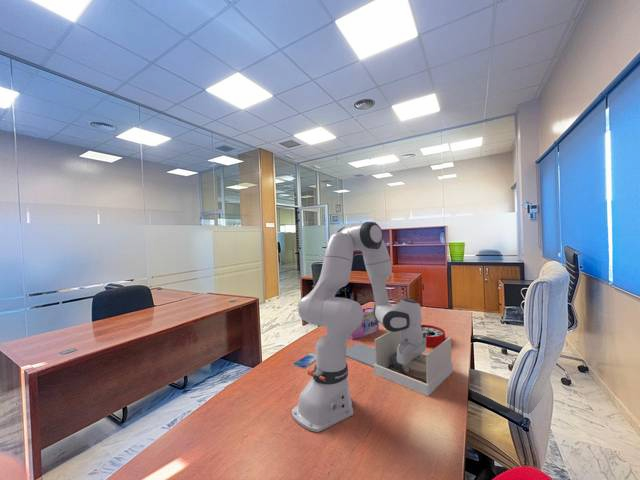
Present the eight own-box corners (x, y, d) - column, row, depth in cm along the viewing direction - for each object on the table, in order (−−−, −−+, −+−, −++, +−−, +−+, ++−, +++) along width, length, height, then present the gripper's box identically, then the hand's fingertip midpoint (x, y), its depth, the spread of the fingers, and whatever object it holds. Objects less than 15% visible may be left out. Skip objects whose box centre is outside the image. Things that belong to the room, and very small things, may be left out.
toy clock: (412, 337, 142) (403, 324, 162) (412, 347, 142) (403, 334, 162) (451, 336, 140) (437, 324, 160) (451, 347, 140) (437, 334, 160)
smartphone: (322, 355, 135) (303, 368, 122) (322, 357, 135) (303, 370, 122) (311, 352, 139) (292, 363, 127) (311, 353, 139) (292, 365, 127)
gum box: (350, 340, 154) (350, 317, 154) (342, 336, 161) (341, 314, 160) (379, 331, 168) (378, 309, 168) (370, 327, 174) (369, 307, 174)
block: (430, 383, 107) (430, 368, 107) (391, 368, 120) (391, 355, 120) (437, 377, 112) (436, 363, 112) (398, 363, 125) (398, 350, 125)
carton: (427, 396, 99) (426, 356, 99) (374, 373, 116) (373, 339, 116) (453, 371, 116) (452, 337, 116) (402, 354, 133) (402, 325, 133)
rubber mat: (377, 369, 120) (377, 367, 120) (338, 353, 137) (338, 352, 137) (396, 357, 131) (396, 356, 131) (357, 344, 148) (357, 343, 148)
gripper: (406, 345, 107) (407, 379, 107) (428, 331, 121) (429, 361, 121) (392, 341, 111) (393, 373, 112) (415, 328, 126) (416, 357, 126)
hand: (412, 367), depth 116 cm, fingers open, 7 cm apart
